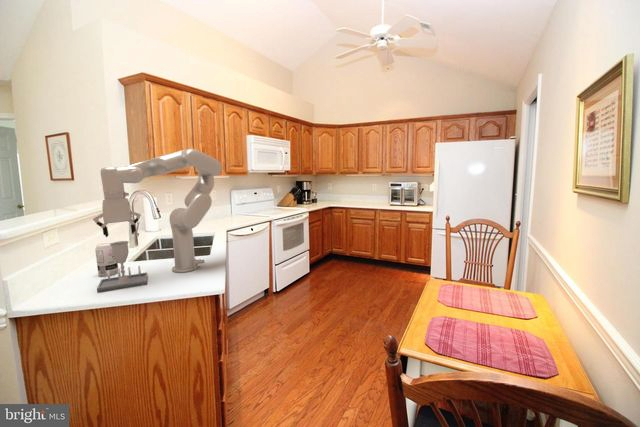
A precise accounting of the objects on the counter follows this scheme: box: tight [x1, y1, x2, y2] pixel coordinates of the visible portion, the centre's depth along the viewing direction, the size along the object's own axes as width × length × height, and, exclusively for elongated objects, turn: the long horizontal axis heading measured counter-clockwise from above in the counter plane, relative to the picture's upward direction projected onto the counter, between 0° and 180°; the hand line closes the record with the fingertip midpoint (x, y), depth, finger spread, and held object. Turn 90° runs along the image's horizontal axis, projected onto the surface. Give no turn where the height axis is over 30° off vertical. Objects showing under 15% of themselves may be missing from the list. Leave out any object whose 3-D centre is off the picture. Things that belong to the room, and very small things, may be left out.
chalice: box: [110, 240, 131, 284], centre depth 132 cm, size 7×7×18 cm
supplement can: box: [95, 242, 119, 277], centre depth 146 cm, size 8×8×15 cm
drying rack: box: [96, 265, 149, 294], centre depth 133 cm, size 18×12×6 cm, turn 119°
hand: (120, 234), depth 131 cm, fingers open, 9 cm apart
